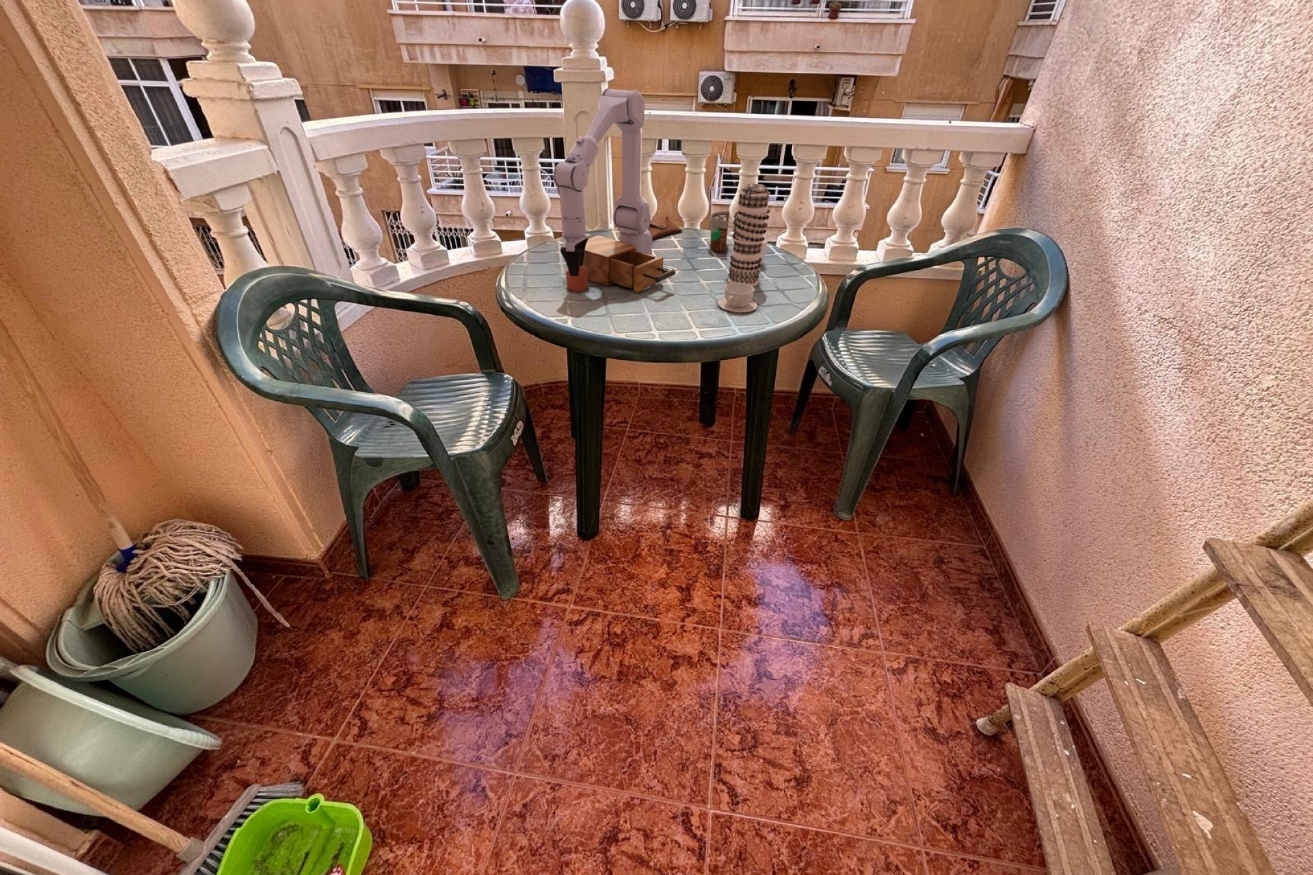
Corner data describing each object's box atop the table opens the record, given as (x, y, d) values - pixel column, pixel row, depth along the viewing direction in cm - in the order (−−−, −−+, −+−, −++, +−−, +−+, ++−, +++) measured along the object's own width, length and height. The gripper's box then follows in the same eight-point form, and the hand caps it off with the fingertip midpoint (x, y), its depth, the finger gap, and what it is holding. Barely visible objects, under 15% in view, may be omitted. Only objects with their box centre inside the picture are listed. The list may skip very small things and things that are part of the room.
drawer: (679, 285, 144) (680, 262, 140) (654, 297, 137) (654, 273, 133) (626, 269, 153) (625, 246, 149) (600, 279, 146) (599, 256, 142)
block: (577, 284, 145) (576, 266, 142) (588, 288, 143) (587, 270, 140) (567, 288, 142) (565, 270, 139) (577, 292, 140) (576, 274, 137)
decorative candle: (765, 286, 147) (780, 189, 132) (734, 289, 145) (746, 190, 130) (751, 274, 154) (764, 181, 139) (721, 277, 152) (731, 182, 137)
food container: (707, 241, 178) (710, 210, 172) (726, 242, 177) (729, 211, 171) (705, 253, 168) (708, 220, 162) (725, 254, 167) (728, 221, 161)
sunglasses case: (649, 240, 175) (642, 220, 173) (636, 247, 180) (629, 228, 179) (684, 230, 186) (678, 211, 184) (671, 236, 191) (664, 218, 189)
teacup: (729, 295, 141) (731, 278, 139) (763, 304, 137) (766, 287, 134) (710, 307, 135) (712, 289, 132) (745, 317, 130) (748, 299, 128)
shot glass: (737, 261, 163) (740, 237, 159) (756, 258, 165) (759, 235, 161) (749, 268, 158) (752, 244, 154) (768, 266, 160) (772, 242, 156)
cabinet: (636, 274, 152) (636, 246, 147) (607, 286, 144) (607, 256, 139) (599, 262, 159) (598, 235, 154) (570, 273, 151) (568, 245, 146)
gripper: (585, 225, 125) (588, 281, 134) (592, 209, 137) (595, 261, 145) (555, 224, 125) (560, 280, 134) (565, 208, 137) (569, 260, 145)
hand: (576, 270), depth 139 cm, fingers open, 7 cm apart
